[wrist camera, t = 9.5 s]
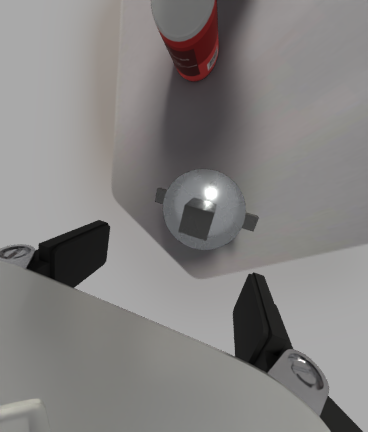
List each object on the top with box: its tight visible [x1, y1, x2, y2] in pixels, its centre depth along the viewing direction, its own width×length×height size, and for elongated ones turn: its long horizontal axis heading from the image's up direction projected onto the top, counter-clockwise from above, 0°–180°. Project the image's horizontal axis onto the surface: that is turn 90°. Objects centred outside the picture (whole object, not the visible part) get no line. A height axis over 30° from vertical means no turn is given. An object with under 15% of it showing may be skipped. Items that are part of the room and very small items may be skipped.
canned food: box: [151, 0, 219, 81], centre depth 24 cm, size 8×8×11 cm
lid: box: [163, 169, 246, 250], centre depth 23 cm, size 13×13×7 cm
